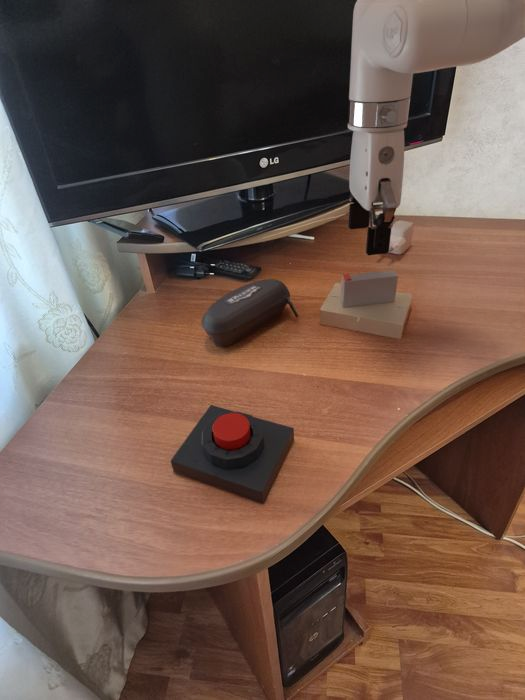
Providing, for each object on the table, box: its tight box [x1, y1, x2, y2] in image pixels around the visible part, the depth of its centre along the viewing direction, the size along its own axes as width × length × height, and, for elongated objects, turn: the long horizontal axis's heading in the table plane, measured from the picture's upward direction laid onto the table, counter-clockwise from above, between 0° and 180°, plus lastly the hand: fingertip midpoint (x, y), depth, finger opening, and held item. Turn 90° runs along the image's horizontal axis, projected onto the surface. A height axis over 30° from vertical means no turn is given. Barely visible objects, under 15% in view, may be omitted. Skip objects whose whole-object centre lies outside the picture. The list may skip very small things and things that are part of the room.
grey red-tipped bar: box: [340, 269, 399, 307], centre depth 74 cm, size 9×2×5 cm, turn 96°
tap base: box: [318, 282, 414, 340], centre depth 77 cm, size 14×13×3 cm
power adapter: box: [388, 219, 414, 255], centre depth 94 cm, size 11×5×6 cm, turn 143°
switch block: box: [170, 404, 295, 504], centre depth 54 cm, size 12×10×4 cm
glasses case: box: [200, 278, 299, 348], centre depth 75 cm, size 18×10×8 cm, turn 135°
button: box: [213, 413, 251, 450], centre depth 52 cm, size 4×4×2 cm
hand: (367, 240), depth 67 cm, fingers open, 9 cm apart
